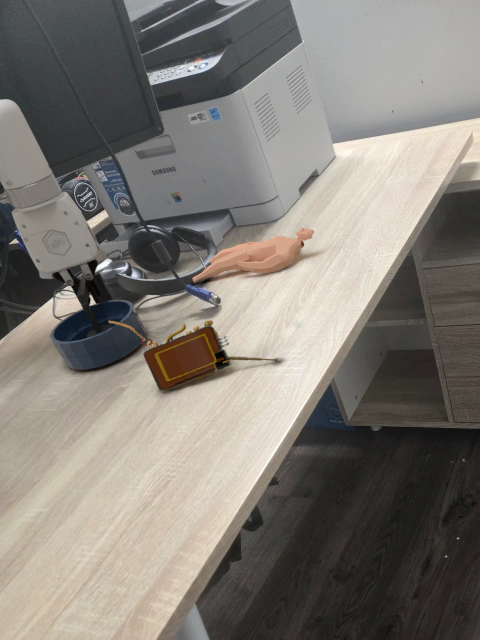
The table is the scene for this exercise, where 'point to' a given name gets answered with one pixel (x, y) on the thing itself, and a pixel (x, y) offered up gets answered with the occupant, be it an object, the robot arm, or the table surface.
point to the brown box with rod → (187, 356)
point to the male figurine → (257, 256)
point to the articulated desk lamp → (106, 296)
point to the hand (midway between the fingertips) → (93, 301)
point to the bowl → (98, 335)
